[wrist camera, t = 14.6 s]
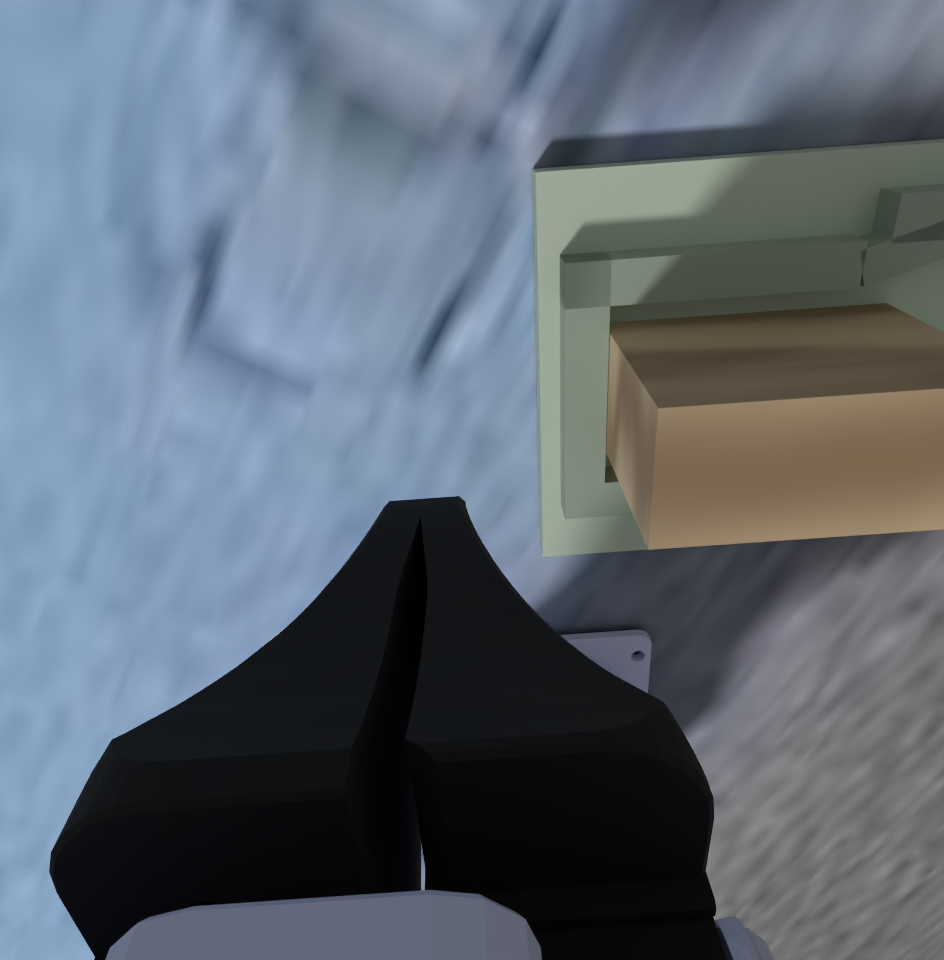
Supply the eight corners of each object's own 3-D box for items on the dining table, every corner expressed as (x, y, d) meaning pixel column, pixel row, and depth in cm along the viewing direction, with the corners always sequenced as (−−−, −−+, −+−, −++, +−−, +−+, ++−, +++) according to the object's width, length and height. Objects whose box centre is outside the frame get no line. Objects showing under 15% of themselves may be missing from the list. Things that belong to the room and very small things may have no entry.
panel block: (859, 419, 22) (990, 525, 17) (599, 437, 22) (648, 550, 17) (886, 303, 20) (1040, 381, 15) (603, 323, 20) (658, 408, 15)
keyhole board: (1088, 504, 25) (1132, 533, 23) (540, 543, 25) (546, 575, 23) (1252, 116, 19) (1326, 119, 17) (532, 168, 19) (540, 177, 17)
